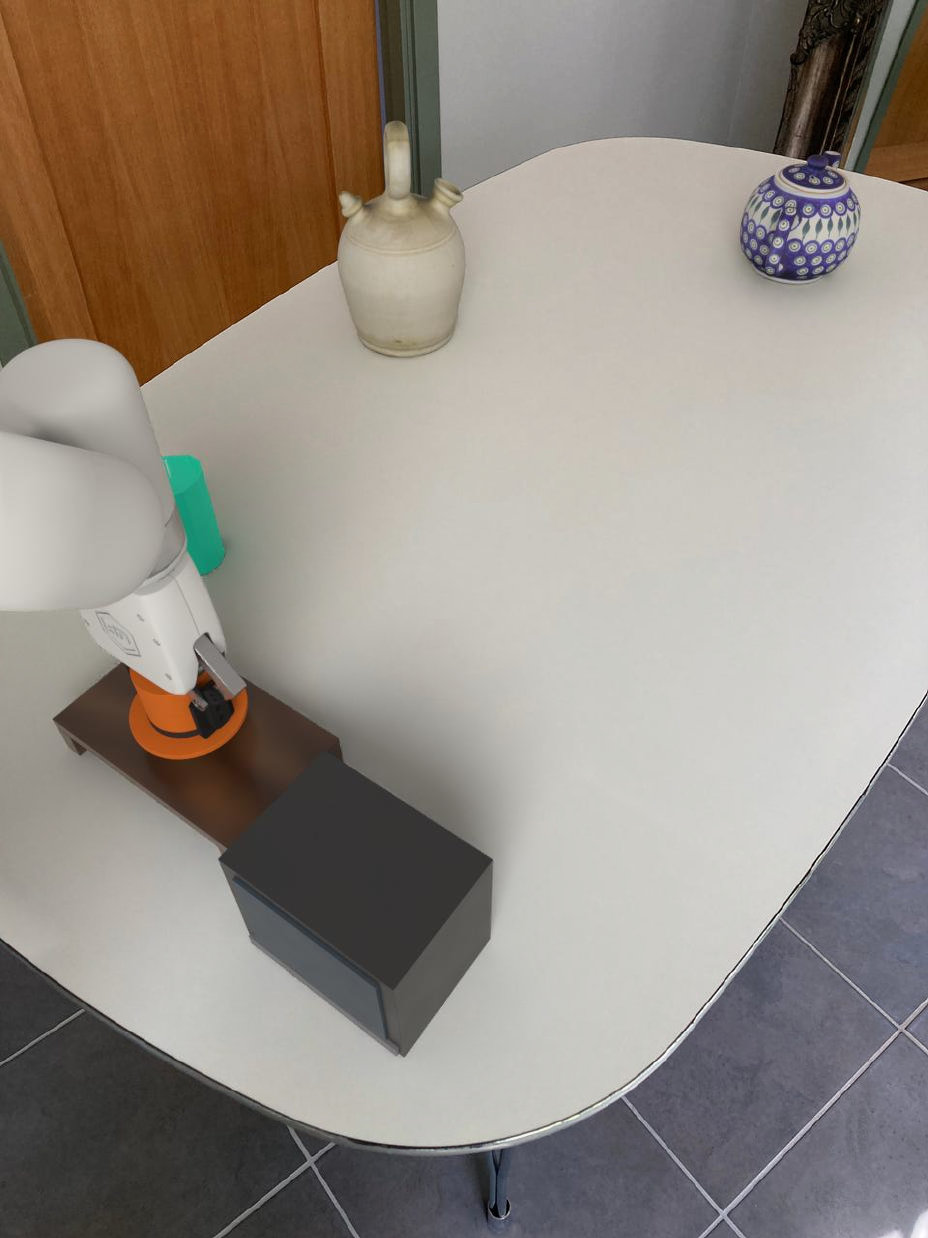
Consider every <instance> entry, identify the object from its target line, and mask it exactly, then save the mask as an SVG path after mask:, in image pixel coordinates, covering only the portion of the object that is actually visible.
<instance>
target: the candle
mask: <svg viewBox="0 0 928 1238" xmlns="http://www.w3.org/2000/svg"><path fill="white" fill-rule="evenodd" d="M161 456H162V455H161ZM162 459H163V463H164V466H165V469H166V472H167V476H168V479H169V482H170V486H171V489H172V492H173V495H174V498H175V501H176V504H177V508H178V511H179V514H180V517H181V520H182V524H183V527H184V530H185V533H186V537H187V547H186V551H187V552H188V553H189V554H190V556H191V558H192V560H193V562H194V564H195V566H196V568H197V570H198V572H199V574H200V576H204V575H207V574H210V572H213V570H214V569H216V568H217V567H219V566H220V565H221V563H222V562H223V559H224V558H225V555H226V551H225V547H224V543H223V540H222V539H223V538H222V536H221V531H220V528H219V524H218V521H217V518H216V514H215V509H214V505H213V502H212V499H211V495H210V491H209V488H208V484H207V480H206V477H205V473H204V470H203V466H202V463H201V460H200V459H198V458H196V457H194V456H193V455H191V454H180V455H179V454H178V455H163V456H162Z"/></svg>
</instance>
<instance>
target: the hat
mask: <svg viewBox="0 0 928 1238" xmlns="http://www.w3.org/2000/svg"><path fill="white" fill-rule="evenodd" d="M130 676H131V679H132V682H133V684H134V686H135V688H136V691H137V695H136V696H135V698H134V700H133V702H132V705H131V708H130V713H129V723H130V728H131V731H132V733H133V736H134V737H135V739H136V741H137V742H138V743H139V744H140V746H142V747H143V748H144V749H145V750H147V751H148V752H150V753H152V754H154V755H156V756H159V757H163V758H168V759H189V758H195V757H198V756H202V755H205V754H207V753H210V752H212V751H214V750H216V749H217V748H219V747H221V746H222V745H224V744H225V743H226V742H227V741H229V740H230V739H231V738H232V737H233V736H234V735H235V734H236V732H237V731H238V730H239V728H240V727H241V725H242V723H243V722H244V719H245V717H246V714H247V709H248V697H247V693H246V690H245V689H244V690H242V691H241V692H240V693H239V694H238V695H237V696H236V697H235V698H234V699H231V700H232V703H233V706H234V709H235V711H234V714H233V715H232V716H231V718H230V720H229V721H228V722H227V723H226V724H225V725H224V726H223V727H222V728H220V729H217V730H216V731H215V732H214V733H213V734H212V735H211V736H210V737H209V738H207V739H204V738H203V737H201V736H200V735H199V733H198V730H197V728H196V725H195V723H194V720H193V717H192V715H191V712H190V709H189V707H188V706H189V704H190V703H191V702H192V701H191V699H190V698H189V696H188V695H187V694H185V695H176V694H172V693H169V692H167V691H166V690H164V689H162V688H161V687H159V686H157V685H156V684H154V683H153V682H151V681H150V680H148V679H147V678H145V677H144V676H142V675H141V674H139V673H138V672H136V671H135V670H133V669H132V668H130ZM210 680H212V678H211V677H210V676H209V675H208V673H207V672H206V671H204V672H203V673H202V674H201V675H200V676H199V677H198V678H197V681H196V684H197V686H198V687H199V689H201V688H202V687H203V686H205V685H206V684H207V683H208V682H209V681H210Z"/></svg>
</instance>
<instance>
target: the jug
mask: <svg viewBox="0 0 928 1238" xmlns="http://www.w3.org/2000/svg"><path fill="white" fill-rule="evenodd" d="M409 136H410V135H409V130H408V126H407V125H406V124H405V123H404V122H403V121H400V120H392V121H389V122H386V124H385V126H384V130H383V163H384V180H385V189H384V191H383V193H382V194H381V195H378V196H376V197H374V198H372V199H370V200H369V201H367V202H366V203H364V199H363V198H362V196H360V195H354V194H353V193H351V192H349V191H347V190H343V191H341V192H340V193H339V195H338V200H339V203H340V205H341V207H342V209H341V213H342V216H343V217H345V218H348V219H347V221H346V223H345V225H344V227H343V230H342V232H341V234H340V238H339V241H338V248H337V270H338V274H339V279H340V282H341V287H342V290H343V293H344V297H345V300H346V303H347V304H346V305H347V307H348V310H349V314H350V316H351V320H352V322H353V325H354V327H355V329H356V331H357V335H358V338H359V340H360V342H361V343H362V345H363V346H364V347H366V348H367V349H369V350H371V351H372V352H375V353H377V354H380V355H382V356H386V357H393V358H411V357H418V356H423V355H426V354H430V353H432V352H435V351H436V350H438V349H440V348H442V347H443V346H444V345H446V344H447V343H448V342H449V341H450V340H451V338H452V337H453V335H454V331H455V326H456V323H457V321H458V320H457V319H458V313H459V307H460V301H461V297H462V293H463V287H464V282H465V276H466V267H467V263H466V261H467V260H466V258H467V257H466V249H465V248H466V247H465V242H464V238H463V236H462V233H461V230H460V228H459V226H458V224H457V222H456V221H455V219H454V218H453V217H452V215H451V214H450V210H451V209H452V208H454V207H455V206H456V205H457V204H459V203H461V202H463V200H464V195H463V193H462V191H461V190H460V189H459V188H458V187H456V185H454V184H453V183H451V182H449V181H448V180H446V179H445V178H443V177H436V178H435V179H434V186H433V189H432V194H431V195H430V196H428V197H425V196H423V195H421V194H417V193H413V192H411V185H412V177H411V173H412V172H411V171H412V168H411V167H412V165H411V162H412V161H411V144H410V137H409Z"/></svg>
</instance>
